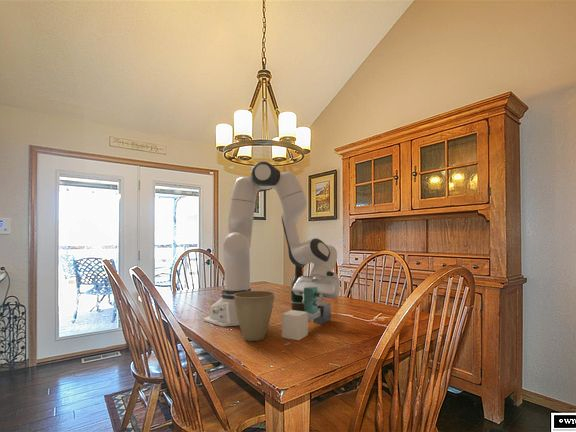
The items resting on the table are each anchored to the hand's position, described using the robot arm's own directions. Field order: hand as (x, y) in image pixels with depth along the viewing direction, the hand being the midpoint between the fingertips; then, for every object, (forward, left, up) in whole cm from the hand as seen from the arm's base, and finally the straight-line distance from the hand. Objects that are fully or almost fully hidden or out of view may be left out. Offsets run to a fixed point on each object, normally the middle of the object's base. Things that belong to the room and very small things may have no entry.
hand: (310, 304), depth 129 cm
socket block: (0, -12, -9) cm, 15 cm away
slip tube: (0, +2, -6) cm, 6 cm away
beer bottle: (-18, +23, -10) cm, 30 cm away
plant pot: (-12, -21, -10) cm, 26 cm away
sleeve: (0, +11, -9) cm, 15 cm away
